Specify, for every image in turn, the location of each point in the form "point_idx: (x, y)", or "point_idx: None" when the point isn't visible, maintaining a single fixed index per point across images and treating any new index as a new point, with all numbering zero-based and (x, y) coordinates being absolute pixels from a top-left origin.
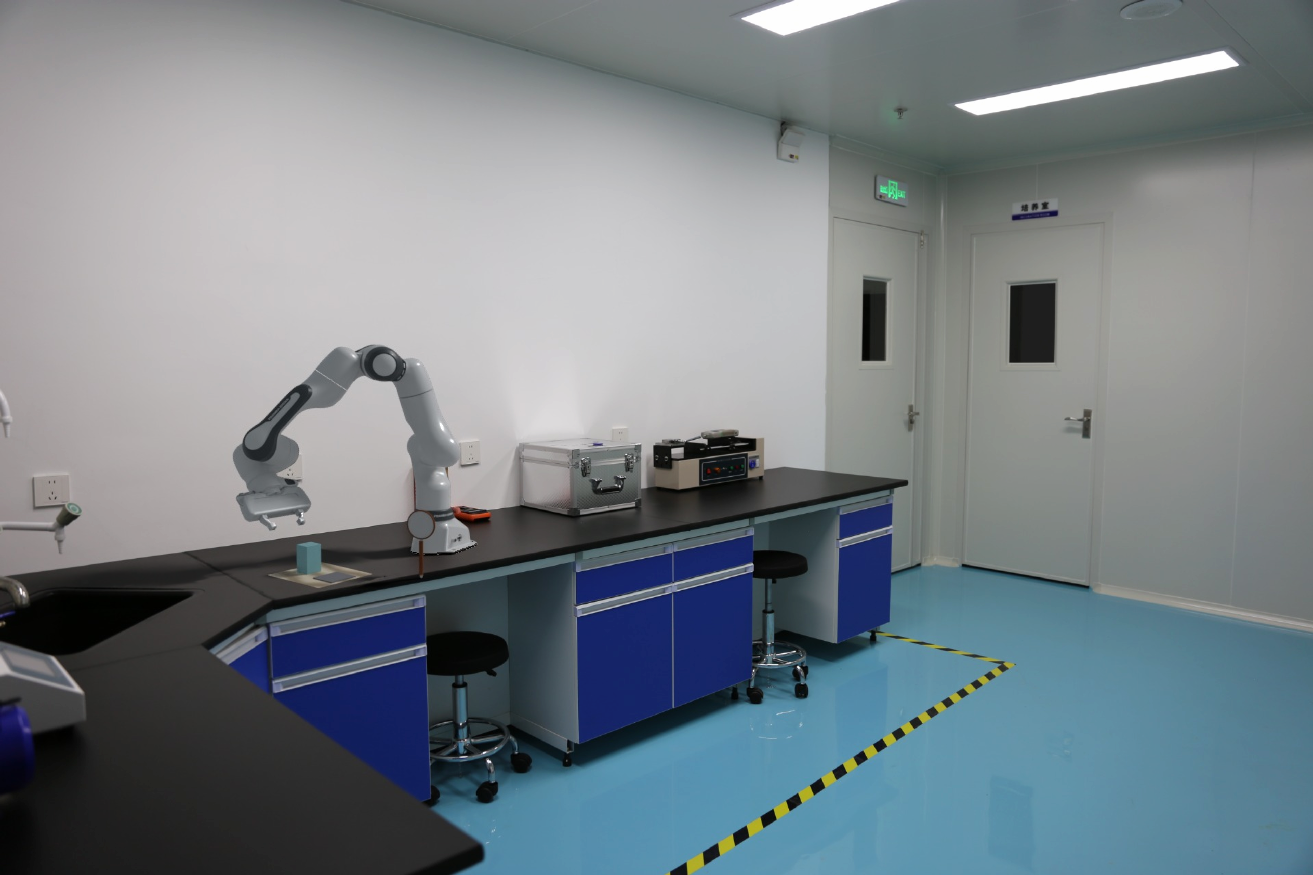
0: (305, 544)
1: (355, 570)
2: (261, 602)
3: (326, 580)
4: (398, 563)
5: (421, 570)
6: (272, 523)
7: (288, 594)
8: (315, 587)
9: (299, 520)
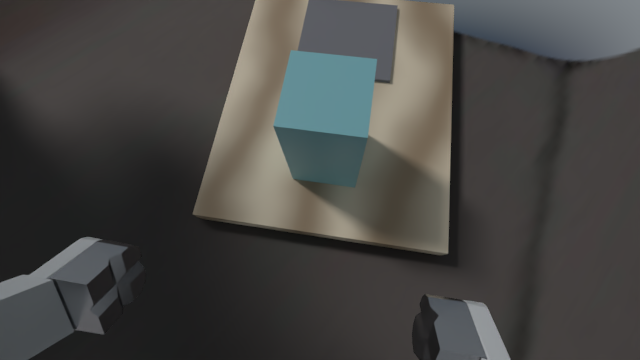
0: (339, 101)
1: (246, 46)
2: (606, 76)
3: (391, 27)
4: (77, 48)
5: None
6: (472, 338)
7: (505, 73)
8: (453, 15)
9: (111, 274)
